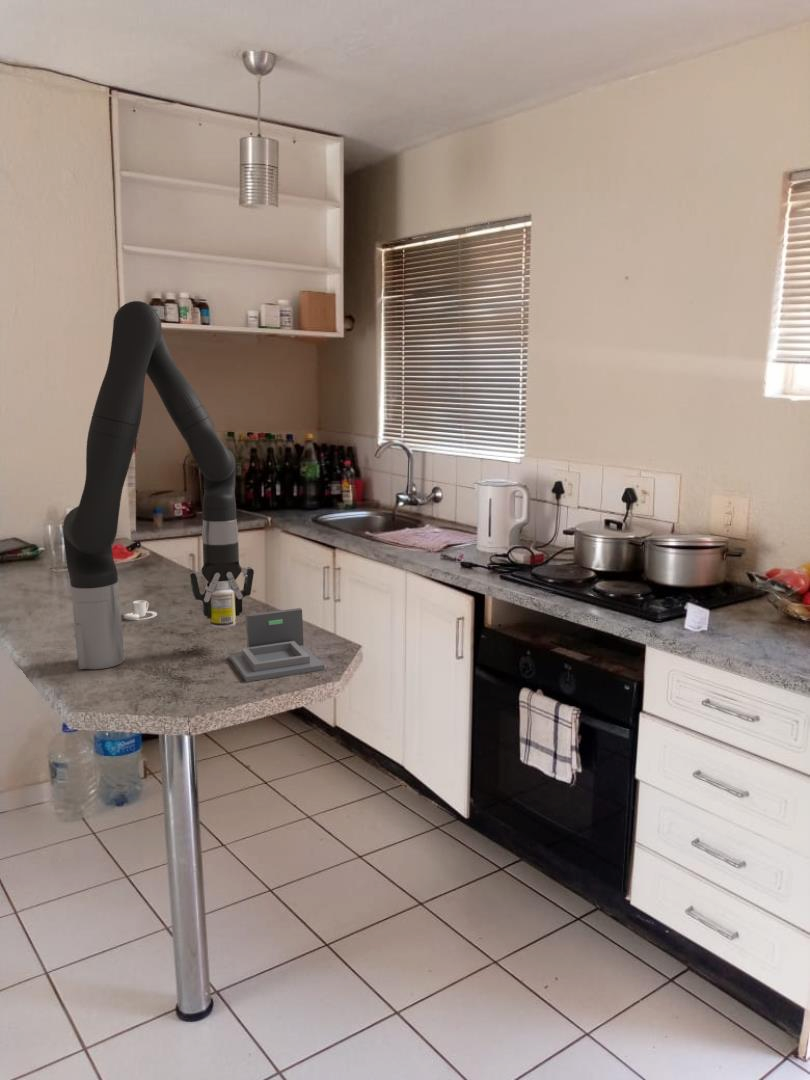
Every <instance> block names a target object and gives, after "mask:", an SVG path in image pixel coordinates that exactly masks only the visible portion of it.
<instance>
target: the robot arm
mask: <svg viewBox="0 0 810 1080" xmlns="http://www.w3.org/2000/svg"><path fill="white" fill-rule="evenodd" d="M162 328H163V325H162V321H161V317H160V315H159V313H158V312H157V311H156V310H155V309H154V307H152V306H151V305H149V303H147V302H143V301H141V300H134V301H129V302H126V303H124V304H123V305H122V306H121V307H120V308H118V310H117V311H116V313H115V315H114V318H113V323H112V334H111V336H112V337H111V344H110V350H109V358H108V364H107V367H106V372H105V374H104V376H103V380H102V382H101V385H100V388H99V391H98V394H97V397H96V400H95V405H94V408H93V411H92V416H91V419H90V424H89V428H88V432H87V439H86V449H85V450H86V452H85V454H86V455H85V458H86V459H85V465H86V466H85V469H86V470H85V480H84V481H85V482H84V486H83V490H82V494H81V496H80V497H81V498H80V501H79V504H78V505H77V506H76V507H74V508H72V509H71V510H70V511H69V512H68V513H67V515H66V516H65V519H64V521H63V526H62V527H63V528H62V532H63V533H62V534H63V543H64V551H65V552H64V553H65V558H66V560H65V561H66V568H67V572H68V575H69V581H70V591H71V592H70V593H71V600H72V610H73V611H72V612H73V626H74V627H73V628H74V637H75V646H76V647H75V649H76V657H77V659H76V660H77V665H78V670H101V669H107V668H108V669H109V668H113V667H116V666H119V665H120V664H122V663H124V662H125V659H126V657H125V646H124V635H123V626H122V613H121V599H120V588H119V578H118V570H117V566H116V564H115V560H114V559H115V558H114V555H113V547H112V544H113V543H114V541H115V540H116V537H117V532H118V528H119V527H118V525H119V515H120V507H121V501H122V493H123V488H124V485H125V481H126V478H127V476H128V472H129V469H130V465H131V461H132V456H133V454H134V449H135V447H136V443H137V439H138V435H139V434H138V433H139V431H140V425H141V420H142V414H143V407H144V406H143V405H144V393H145V380H146V376H148V378H149V379H150V381H151V383H152V384H153V386H154V388H155V389H156V392H157V394H158V396H159V398H160V399H161V401H162V403H163V405H164V407H165V409H166V411H167V412H168V414H169V416H170V418H171V419H172V422H173V424H174V425H175V426H176V428H177V430H178V432H179V433H180V436H182V438H183V439H184V441H185V442H186V444H187V446H188V449H189V451H190V453H191V455H192V457H193V460H194V461H195V463H196V465H197V468H198V469H199V471H200V472H201V473H202V475H203V488H204V489H203V492H204V493H203V496H202V527H201V529H202V530H201V531H202V532H201V535H202V536H201V541H202V561H203V563H202V564H203V565H202V567H201V569H200V570H197V571H192V570H191V571H189V572H188V577H189V582H190V586H191V589H192V590H191V591H192V595H193V597H194V599H195V600H196V601H201V602H202V614H203V615H204V617H206V619H209V620H210V618H211V604H210V601H209V600H210V597H211V593H213V592H214V589H215V587H216V584H217V582H218V581H227V580H229V582H230V584H231V587H232V588H233V590H234V591H235V603H236V617H240V615H241V614H242V613H243V599H244V598H245V597H248V596H249V597H250V596H251V593H252V587H253V582H254V574H255V570H254V569H253V568H252V567H250V566H248V567H243V566H241V565H240V552H239V551H240V550H239V549H240V548H239V527H238V521H237V503H236V492H235V491H236V477H237V476H236V475H237V474H236V473H237V471H236V468H237V466H236V465H237V464H236V458H235V455H234V453H233V451H231V450H230V449H229V448H227V447H226V446H225V444H224V443H223V441H222V440H221V438H220V436H219V435H218V433H217V431H216V427H215V425H214V421H213V420H212V418H211V416H210V414H209V413H208V411H207V409H206V408H205V405H204V404H203V402H202V401H201V399H200V397H199V396H198V394H197V393H196V391H195V390H194V388H193V387H192V386H191V384H190V382H189V381H188V380H187V379H186V377H185V376H184V374H183V373H182V371H181V369H179V367H178V365H177V363H176V361H175V359H174V358H173V356H172V353H171V352H170V349H169V347H168V345H167V342H166V339H165V337H164V334H163V331H162V330H163V329H162ZM241 574H242V576H243V578H244V582H243V588H242V589H240V588H239V585H238V582H237V581H236V580H237V579H238V577H239V576H240V575H241ZM202 576H203V577H204V578H205V579H206V580H207V582H206V585H205V587H204V591H203V593H201V592H200V591H201V590H200V587H199V582H200V581H201V577H202ZM212 586H213V587H212Z"/></svg>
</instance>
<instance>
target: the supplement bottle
mask: <svg viewBox="0 0 810 1080" xmlns="http://www.w3.org/2000/svg"><path fill="white" fill-rule="evenodd" d="M212 587H213V586H212ZM209 601H210V604H211V618H210V619H209V620H210V621H209V623H210V626H211V627H213V628H216V629H227V628H232V627H234V626H235V625H236V624H237V616H236V603H235V591H234V590H233V588H232V587H231V584H230V582H229V580H227V581H218V582H217V584H216V587H215V589H214V592H213V593H211V597H210V600H209Z"/></svg>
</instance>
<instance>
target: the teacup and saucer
mask: <svg viewBox="0 0 810 1080" xmlns="http://www.w3.org/2000/svg"><path fill="white" fill-rule="evenodd" d="M132 605H133V611H134V612H133V611H132V612H130V613H125V614H124V615H123V618H124V619H125V620H129V621H143V620H149V619H153V618H155V617H156V616H158V613H157V612H156V611H150V610H149V611H148V609H149V605H150V604H149V601H147V600H144V599H139V600H134V601H133V604H132ZM133 613H135V614H133ZM147 614H152V615H151V616H148V617H145V616H146V615H147ZM142 617H144V618H142Z"/></svg>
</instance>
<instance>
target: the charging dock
mask: <svg viewBox="0 0 810 1080" xmlns="http://www.w3.org/2000/svg"><path fill="white" fill-rule="evenodd" d="M303 620H304V619H303V609H302V608H301V607H298V608H289V609H281V610H273V611H267V612H259V613H249V614H245V629H246V647H242V648H241V651H237V652H230V653H228V659H229V660H230V661H231V663H232V664H233V665H234V667H235V668H236V670H237V671H238V673H239V674H240V676H241V677H242V678H243V679H244V681H245V682H246V683H249V682H254V681H261V680H267V679H274V678H275V679H276V678H280V677H287V676H293V675H298V674H300V675H301V674H305V673H312V672H318V671H325V664H324V663H323V662H322V661H321V660H320V659H319V658H318V657H317V656H315V654H314V653H312V651H310V650H309V649H308V648H307V646H305V644H304V627H303V624H304V623H303Z"/></svg>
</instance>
